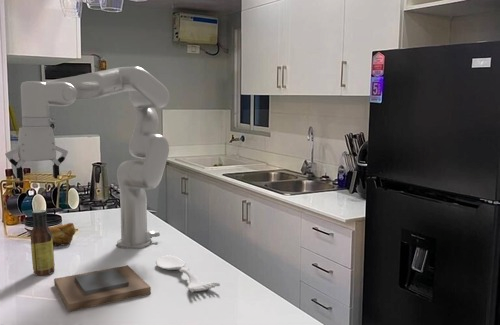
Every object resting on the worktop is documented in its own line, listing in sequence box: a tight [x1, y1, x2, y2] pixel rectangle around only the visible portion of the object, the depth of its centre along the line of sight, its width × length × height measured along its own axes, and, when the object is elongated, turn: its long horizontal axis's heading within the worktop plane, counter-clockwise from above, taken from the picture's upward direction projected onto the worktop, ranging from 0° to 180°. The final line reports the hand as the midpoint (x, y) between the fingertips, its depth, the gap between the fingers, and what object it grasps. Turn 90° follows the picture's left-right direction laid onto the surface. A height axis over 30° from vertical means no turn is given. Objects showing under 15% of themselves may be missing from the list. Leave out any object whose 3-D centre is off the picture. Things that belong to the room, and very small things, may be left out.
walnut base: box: [53, 264, 152, 313], centre depth 135 cm, size 22×20×3 cm
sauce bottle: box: [30, 209, 56, 277], centre depth 146 cm, size 7×6×20 cm
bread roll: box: [48, 222, 76, 247], centre depth 175 cm, size 13×10×8 cm
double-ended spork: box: [155, 254, 221, 293], centre depth 145 cm, size 9×32×4 cm, turn 32°
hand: (38, 179), depth 143 cm, fingers open, 9 cm apart
